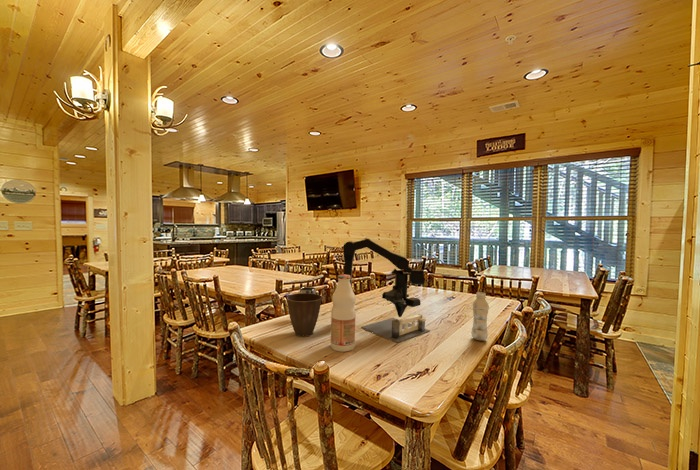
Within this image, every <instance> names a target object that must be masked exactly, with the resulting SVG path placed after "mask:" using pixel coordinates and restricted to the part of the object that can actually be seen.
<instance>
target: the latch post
mask: <svg viewBox="0 0 700 470" xmlns="http://www.w3.org/2000/svg"><path fill="white" fill-rule="evenodd" d="M418 320H419V326H418V331H421V332H423V331H425V329H426V326H425V325H426V321H427V320H426V319H425V318H423V317H422V318H420V319H418Z"/></svg>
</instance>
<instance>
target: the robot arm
mask: <svg viewBox="0 0 700 470" xmlns="http://www.w3.org/2000/svg"><path fill="white" fill-rule="evenodd" d="M365 248H367V249H369V250H371V251H372V252H374V253H376V254H377V255H380V256H381V257H383V258H384V259H386V260H388V261H389V263H391V264H393V265H394V267H395V268H393V270H391V271H390V274H392V275H394V285H392V289H390V290H389V291H383V293H382V294H381V295H382V297H381V298H382V299H384V300H386V302H390V303H392V304H393V305H394V307H395V311H396V312H397V315H398V318H401V317H402V316H403V315H404V312H405V310H406V309H407V308H408V307H409V308H410V307H411V308H413V307H419V306H421V299H419V298H418V297H414V296H413V297H409V296H410V295H409V294H408V289H410V285H408V283H411V285H421V286H422V285H423V286H424V285H425V283H426V282H425V281H426V279H425V271H424V269H412V267H411V266H409V265H410V263H409V260H408V259H407V257H406V256H403V255H400V254H398V253H396V252H392V251H390V250H388V249H387V248H385V247H383V246H381V245H380V244H378V243H376V242H374V241H373V240H371V239H370V238H365V239H362V240H358V241H351V240H350V241H349V240H348V241H346V242H345V243H344V244H343V247H342V251H343V258H344V267H343V275H350V276H351V278H350V284H351V285H352V284H353V282H352V279H353V269H354V268H353V267H354V266H353V263H354V259H355V255H356V253H357V252H356V251H358V250H362V249H365ZM354 294H355V293H354ZM355 295H356V294H355Z"/></svg>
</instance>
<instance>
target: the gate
mask: <svg viewBox="0 0 700 470" xmlns="http://www.w3.org/2000/svg"><path fill="white" fill-rule="evenodd" d="M420 318H423V314H420V313H418V314H415V315H412V316H408V317H406V318H405V317H404V318H401V319H398V320H399V336H400V335H403V334H406V333H409V332H412V331H415V330H418V326H419V320H418V319H420ZM416 321H417V322H416ZM408 323H411V324H412V327H408ZM403 324H405V329H402V325H403Z"/></svg>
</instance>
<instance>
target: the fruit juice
mask: <svg viewBox="0 0 700 470" xmlns="http://www.w3.org/2000/svg"><path fill="white" fill-rule="evenodd" d="M350 278H351V276H350V275H344V274H339V275H338V276H337V280H338V281H337V286H336V287H335V290H334V293H333V294H332V296H331V302H332V308H331V312H330V318H331V319H330V347H331V349H332V350H334V351H336V352H341V353H342V352H350V351H352V350H354V349H355V346H356V316H357V315H356V308H355V304H356V294H354V290H353V288H352V283H351V284H350Z"/></svg>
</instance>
